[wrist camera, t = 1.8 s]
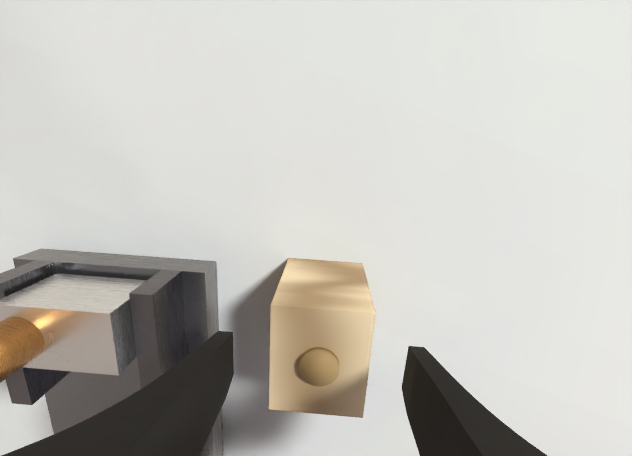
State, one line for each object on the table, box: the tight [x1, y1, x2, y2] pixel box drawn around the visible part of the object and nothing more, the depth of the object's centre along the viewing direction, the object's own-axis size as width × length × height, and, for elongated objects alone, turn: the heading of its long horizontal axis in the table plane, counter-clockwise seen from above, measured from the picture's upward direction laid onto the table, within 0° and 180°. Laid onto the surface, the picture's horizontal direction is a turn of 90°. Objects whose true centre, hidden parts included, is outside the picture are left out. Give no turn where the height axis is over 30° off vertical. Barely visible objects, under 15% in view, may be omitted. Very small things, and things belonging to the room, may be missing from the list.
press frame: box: [0, 249, 223, 456], centre depth 16 cm, size 10×14×4 cm
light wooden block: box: [269, 258, 376, 418], centre depth 14 cm, size 4×5×5 cm
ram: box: [0, 274, 147, 382], centre depth 11 cm, size 5×3×8 cm, turn 87°
